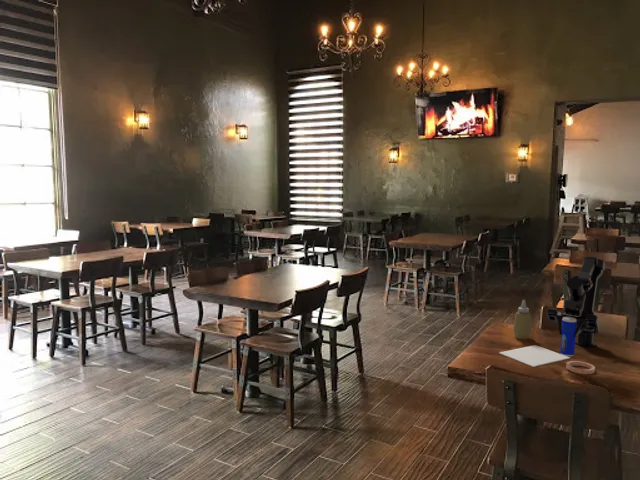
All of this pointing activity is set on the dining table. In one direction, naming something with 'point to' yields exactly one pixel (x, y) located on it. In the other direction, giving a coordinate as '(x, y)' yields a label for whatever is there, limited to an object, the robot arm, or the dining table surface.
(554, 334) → the dining table surface
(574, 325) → the beverage can
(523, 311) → the squeeze bottle
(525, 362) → the grey mat
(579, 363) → the terracotta ring
